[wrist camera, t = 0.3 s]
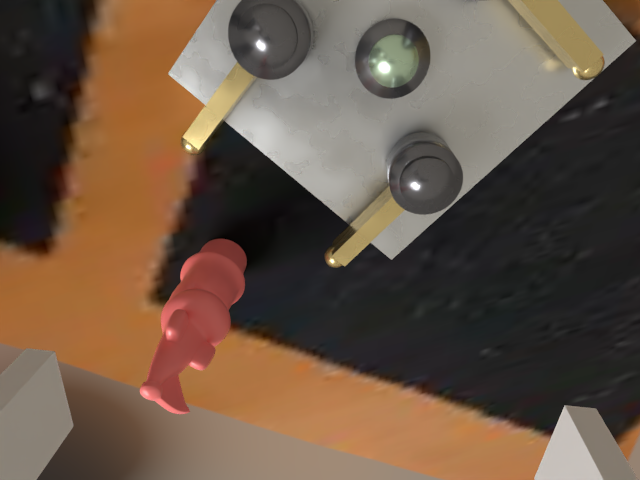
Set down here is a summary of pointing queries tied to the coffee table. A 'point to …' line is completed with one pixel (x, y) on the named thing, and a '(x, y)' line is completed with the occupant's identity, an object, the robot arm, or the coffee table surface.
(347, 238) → the screw
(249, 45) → the screw
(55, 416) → the robot arm
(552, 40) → the screw side
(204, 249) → the figurine
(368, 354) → the coffee table surface
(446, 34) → the tribrach plate
